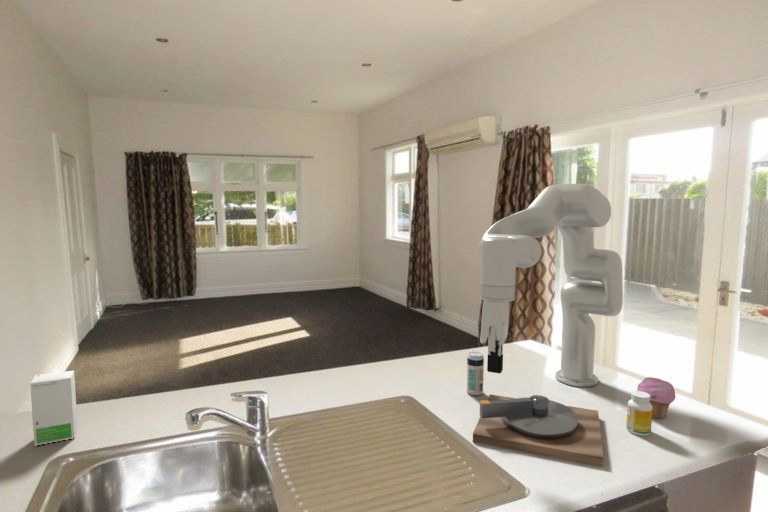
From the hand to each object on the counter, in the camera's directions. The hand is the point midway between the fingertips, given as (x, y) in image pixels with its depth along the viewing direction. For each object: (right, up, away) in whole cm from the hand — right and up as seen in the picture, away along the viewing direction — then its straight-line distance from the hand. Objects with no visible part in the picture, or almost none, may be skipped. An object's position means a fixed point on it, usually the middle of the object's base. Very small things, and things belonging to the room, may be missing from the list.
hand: (494, 371), depth 105 cm
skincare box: (-105, -18, +8) cm, 107 cm away
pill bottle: (+2, -15, +32) cm, 35 cm away
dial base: (+13, -17, +10) cm, 24 cm away
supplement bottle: (+38, -17, +9) cm, 42 cm away
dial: (+10, -15, +9) cm, 20 cm away
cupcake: (+46, -16, +17) cm, 52 cm away
